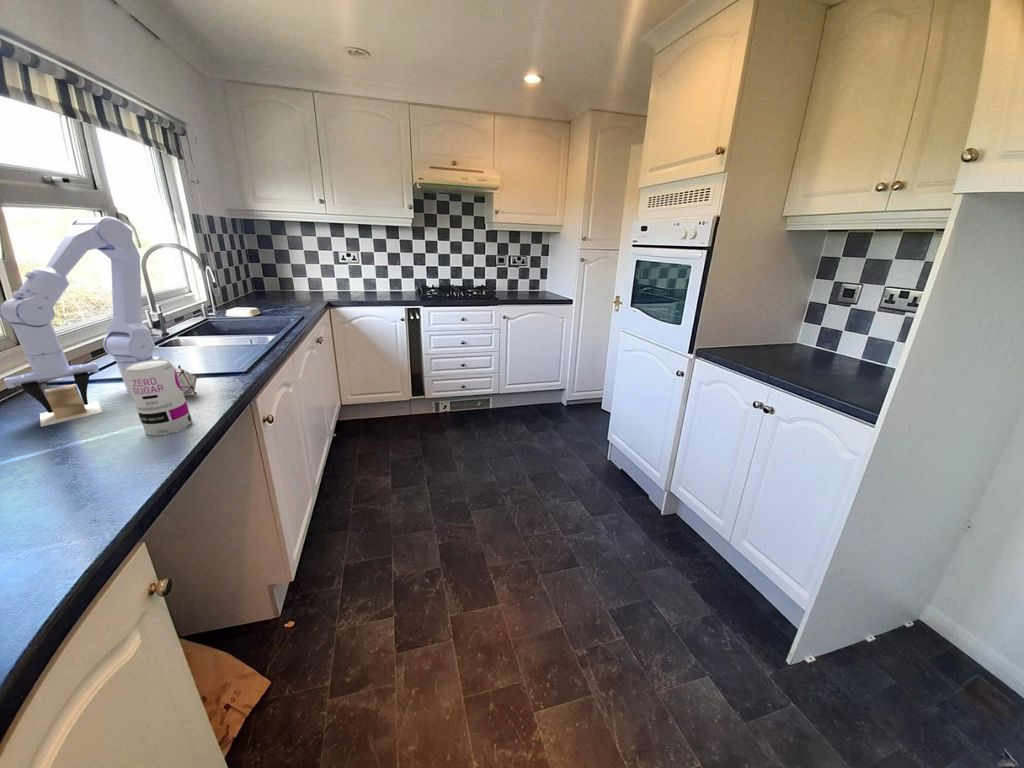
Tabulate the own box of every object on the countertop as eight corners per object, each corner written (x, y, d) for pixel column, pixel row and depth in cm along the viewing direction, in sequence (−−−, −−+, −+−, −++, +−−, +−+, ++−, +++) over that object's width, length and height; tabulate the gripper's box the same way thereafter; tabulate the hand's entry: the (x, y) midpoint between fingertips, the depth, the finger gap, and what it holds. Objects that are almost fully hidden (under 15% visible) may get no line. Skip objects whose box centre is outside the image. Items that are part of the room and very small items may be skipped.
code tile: (98, 403, 104) (97, 400, 104) (103, 414, 98) (102, 411, 97) (40, 415, 97) (39, 413, 97) (41, 428, 91) (40, 426, 91)
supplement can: (186, 416, 96) (166, 356, 91) (197, 427, 91) (177, 363, 86) (142, 429, 90) (117, 365, 85) (151, 441, 85) (126, 373, 80)
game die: (179, 413, 107) (138, 391, 100) (189, 391, 113) (151, 369, 106) (205, 397, 106) (166, 373, 99) (214, 375, 112) (177, 352, 105)
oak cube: (84, 406, 100) (75, 383, 98) (86, 412, 97) (76, 389, 95) (55, 413, 97) (44, 389, 95) (56, 419, 94) (45, 395, 92)
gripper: (87, 342, 99) (108, 394, 104) (-5, 356, 89) (22, 412, 94) (90, 348, 95) (111, 401, 100) (-7, 362, 85) (22, 421, 90)
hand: (68, 407), depth 97 cm, fingers open, 5 cm apart
